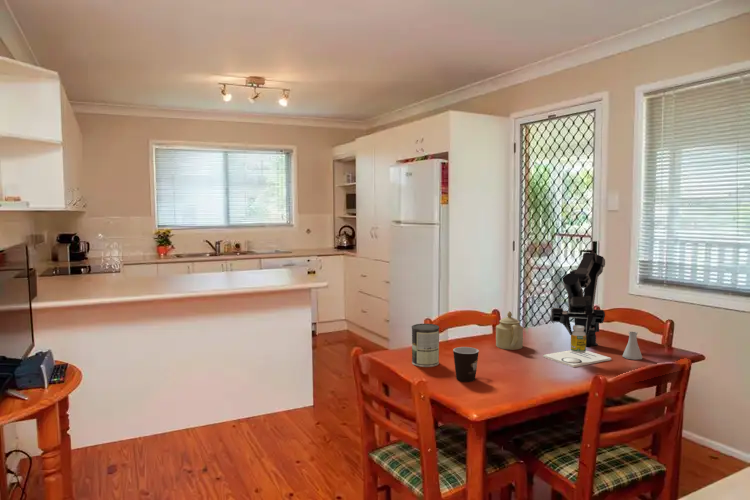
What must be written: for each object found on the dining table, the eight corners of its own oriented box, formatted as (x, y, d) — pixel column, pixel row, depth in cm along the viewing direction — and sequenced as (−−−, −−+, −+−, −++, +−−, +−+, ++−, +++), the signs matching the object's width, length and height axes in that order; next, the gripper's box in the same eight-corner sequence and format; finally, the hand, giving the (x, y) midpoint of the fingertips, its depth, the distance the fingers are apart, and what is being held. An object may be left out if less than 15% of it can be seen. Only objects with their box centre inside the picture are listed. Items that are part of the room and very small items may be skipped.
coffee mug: (461, 384, 173) (462, 355, 172) (448, 376, 181) (448, 348, 180) (490, 379, 177) (491, 350, 177) (476, 372, 185) (476, 344, 185)
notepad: (543, 357, 204) (543, 354, 204) (579, 350, 213) (579, 348, 213) (573, 367, 191) (573, 364, 191) (611, 360, 200) (611, 357, 199)
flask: (645, 360, 198) (646, 334, 198) (624, 359, 200) (625, 334, 199) (639, 355, 205) (640, 330, 205) (619, 354, 207) (620, 329, 206)
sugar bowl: (535, 350, 214) (535, 314, 213) (514, 353, 209) (515, 316, 208) (510, 341, 227) (510, 307, 226) (490, 345, 222) (490, 310, 221)
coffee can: (406, 363, 197) (406, 326, 196) (423, 357, 204) (423, 322, 203) (427, 369, 190) (427, 331, 189) (444, 363, 197) (444, 326, 196)
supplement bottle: (580, 348, 198) (580, 324, 197) (589, 352, 193) (589, 327, 192) (567, 350, 197) (568, 325, 196) (576, 353, 192) (576, 328, 191)
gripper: (552, 287, 199) (554, 322, 189) (604, 288, 194) (609, 324, 185) (550, 303, 207) (551, 337, 197) (600, 305, 203) (604, 340, 193)
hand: (579, 334), depth 193 cm, fingers closed on supplement bottle, 5 cm apart
